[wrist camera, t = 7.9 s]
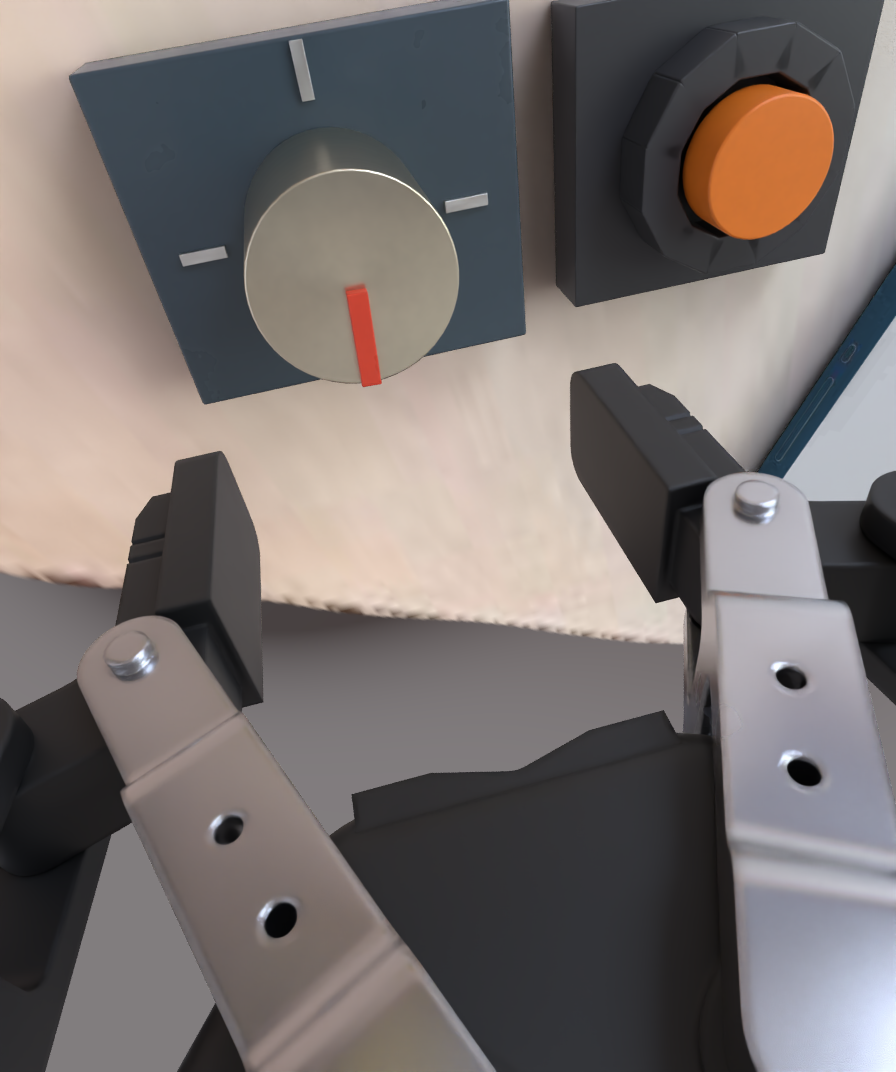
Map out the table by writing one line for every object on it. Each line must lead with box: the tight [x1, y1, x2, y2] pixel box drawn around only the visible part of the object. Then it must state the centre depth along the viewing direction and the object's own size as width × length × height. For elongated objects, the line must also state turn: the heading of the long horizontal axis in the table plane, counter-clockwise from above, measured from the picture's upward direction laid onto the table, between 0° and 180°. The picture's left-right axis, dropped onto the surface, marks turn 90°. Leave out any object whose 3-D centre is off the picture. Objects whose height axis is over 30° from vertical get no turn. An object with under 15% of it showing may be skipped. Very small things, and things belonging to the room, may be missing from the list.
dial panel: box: [69, 0, 526, 404], centre depth 23 cm, size 12×10×3 cm
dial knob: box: [244, 127, 459, 387], centre depth 20 cm, size 6×6×5 cm
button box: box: [551, 0, 884, 307], centre depth 23 cm, size 10×9×4 cm
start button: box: [683, 84, 834, 240], centre depth 21 cm, size 4×4×2 cm
